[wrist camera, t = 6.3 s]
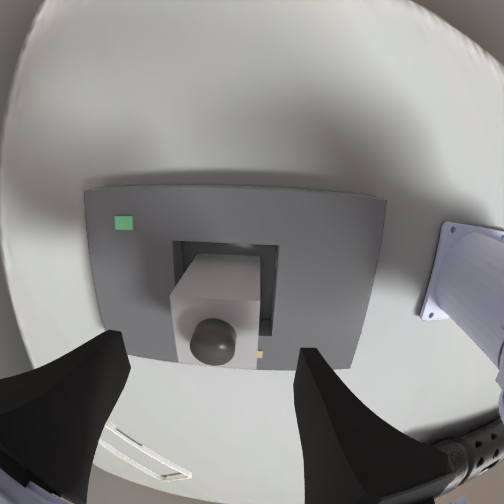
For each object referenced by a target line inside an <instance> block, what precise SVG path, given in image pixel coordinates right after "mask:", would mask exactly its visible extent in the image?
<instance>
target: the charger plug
mask: <svg viewBox="0 0 504 504" xmlns="http://www.w3.org/2000/svg"><path fill="white" fill-rule="evenodd" d="M170 303H171V312H172V320H173V328H174V335H175V342H176V349H177V355H178V362H179V363H181V364H190V365H199V366H209V367H222V368H237V369H256V368H257V351H258V333H259V315H260V256H255V255H230V254H205V253H197V255H196V256H195V258H194V259H193V261H192V262H191V264H190V265H189V267H188V268H187V270H186V271H185V273H184V274H183V276H182V277H181V279H180V280H179V282H178V284H177V285H176V287H175V288H174V290H173V291H172V293H171V294H170Z"/></svg>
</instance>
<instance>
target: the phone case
mask: <svg viewBox="0 0 504 504" xmlns="http://www.w3.org/2000/svg"><path fill="white" fill-rule="evenodd" d="M105 427H106V428H108V429H110V430H111V431H112V432H114V433H115V434H116V435H118V436H119V437H121V438H122V439H124V440H125V441H127V442H128V443H130V444H131V445H133V446H134V447H136V448H137V449H139V450H141V451H142V452H144V453H145V454H147V455H149V456H150V457H152V458H154V459H156V460H157V461H159V462H161V463H163V464H165V465H166V466H168V467H170V468H172V469H174V470H176V471H178V472H180V473H182V474H184V475H186V477H181V478H175V479H169V477H163V476H160V475H158V474H156V473H154V472H152V471H150V470H149V469H147V468H145V467H143V466H142V465H140V464H138V463H136V462H135V461H133V460H131V459H130V458H128V457H127V456H125V455H123V454H122V453H120V452H119V451H117V450H116V449H114V448H113V447H111V446H110V445H108V444H107V443H105V442H104V441H103V440H101V439H99V442H98V444H100V445H101V446H102V447H104V448H105V449H107V450H108V451H110V452H111V453H113V454H114V455H116V456H118V457H119V458H121V459H122V460H124V461H126V462H127V463H129V464H131V465H132V466H134V467H136V468H137V469H139V470H141V471H143V472H145V473H146V474H148V475H150V476H152V477H154V478H156V479H158V480H160V481H163V482H167V481H175V480H182V479H189V478H191V477H192V473H191V472H190V471H188V470H186V469H184V468H182V467H180V466H178V465H176V464H174V463H173V462H171V461H169V460H167V459H165V458H164V457H162V456H160V455H158V454H157V453H155V452H153V451H152V450H150V449H149V448H147V447H145V446H144V445H141V446H139V445H137V444H136V443H134V442H133V441H131V440H130V439H128V438H127V437H125V436H124V435H123V434H121V433H120V432H118V431H117V430H116V426H115V425H113V424H112V423H111V422H109V421H107V422H106V424H105Z"/></svg>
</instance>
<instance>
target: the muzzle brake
mask: <svg viewBox="0 0 504 504" xmlns="http://www.w3.org/2000/svg"><path fill="white" fill-rule="evenodd" d="M428 446H429V447H432V448H434V449H437V450H439V451H442V452H445V453H447V454H448V456H449V458H450V460H451V462H452V464H453V467H454V469H455V471H456V477H455V479H454V480H453V481H452V482H451V483H450V484H449V485H448V486H446V487H445V488H444V489H443V490H441V491H440V492H439V493H437V494H436V495H435V496H433V498H434V499H435V498H437V497H440V496H442V495H444V494H446V493H448V492H450V491H452V490H453V489H455V488H456V487H457V486H460V485H462V484H464V483H466V482H467V481H469V480H471V479H473V478H475V477H476V476H478V475H479V474H481V473H483V472H485V471H487V470H488V469H490V468H492V467H494V466H495V465H497V464H498V463H500V462H501V461H502V460H504V424H503V422H502V420H501V418H500V419H498V420H495V421H493V422H491V423H489V424H486V425H484V426H481V427H479V428H478V429H477V430H474V431H473V430H471V431H470V432H469V433H468V434H467V435H465V436H462V437H459V438H456V439H452V438H451V437H448V438H445V439H442V440H438V441H437V442H436V443H435V444H432V445H428Z"/></svg>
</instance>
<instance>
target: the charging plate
mask: <svg viewBox="0 0 504 504" xmlns="http://www.w3.org/2000/svg"><path fill="white" fill-rule="evenodd" d="M84 202H85V217H86V228H87V237H88V245H89V253H90V260H91V266H92V272H93V278H94V284H95V289H96V294H97V299H98V303H99V308H100V312H101V316H102V321H103V325H104V328H105V331H107V330H109V329H110V330H115V331H121V332H122V336H123V340H124V344H125V348H126V352H127V355H132V356H138V357H143V358H149V359H155V360H162V361H169V362H176V363H179V362H178V355H177V349H176V342H175V335H174V328H173V320H172V312H171V303H170V294H171V293H172V291H173V290H174V288H175V287H176V285H177V284H178V282H179V280H180V279H181V277H182V276H183V257H182V241H193V242H216V243H238V244H259V245H277V248H276V262H275V275H274V288H273V300H272V312H271V320H263V319H259V333H258V351H257V368H256V369H254V370H296V368H297V363H298V357H299V352H300V348H313V347H316V348H317V349H318V350H319V352H320V353H321V355H322V356H323V357H324V359H325V360H326V361H327V363H328V364H329V365H330V367H331V368H332V369H349V368H350V367H351V364H352V360H353V357H354V354H355V351H356V348H357V344H358V341H359V338H360V334H361V330H362V327H363V323H364V319H365V316H366V312H367V308H368V304H369V299H370V295H371V291H372V286H373V282H374V277H375V272H376V267H377V262H378V257H379V251H380V245H381V239H382V233H383V226H384V219H385V211H386V203H387V200H384V199H381V198H378V197H375V196H370V195H361V194H352V193H343V192H333V191H322V190H310V189H297V188H282V187H265V186H241V185H135V186H113V187H99V188H94V189H90V190H85V191H84ZM236 369H237V368H236Z"/></svg>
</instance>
